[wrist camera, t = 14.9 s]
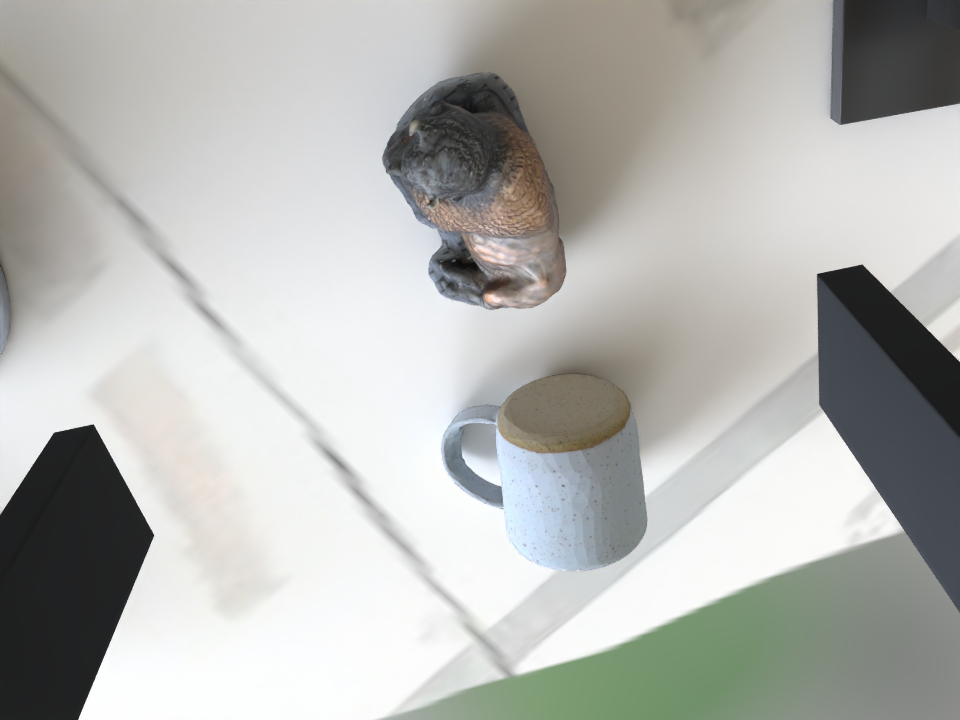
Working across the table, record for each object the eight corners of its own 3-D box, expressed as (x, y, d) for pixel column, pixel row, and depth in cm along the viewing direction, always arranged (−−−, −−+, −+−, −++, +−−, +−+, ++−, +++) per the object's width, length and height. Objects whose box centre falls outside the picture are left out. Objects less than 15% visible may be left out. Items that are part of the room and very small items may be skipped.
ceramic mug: (622, 354, 47) (646, 438, 40) (635, 473, 51) (658, 568, 44) (429, 383, 48) (421, 470, 41) (457, 498, 52) (453, 594, 45)
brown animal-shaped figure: (586, 261, 44) (618, 363, 35) (459, 310, 45) (458, 420, 37) (497, 30, 38) (507, 84, 30) (353, 94, 40) (323, 164, 31)
